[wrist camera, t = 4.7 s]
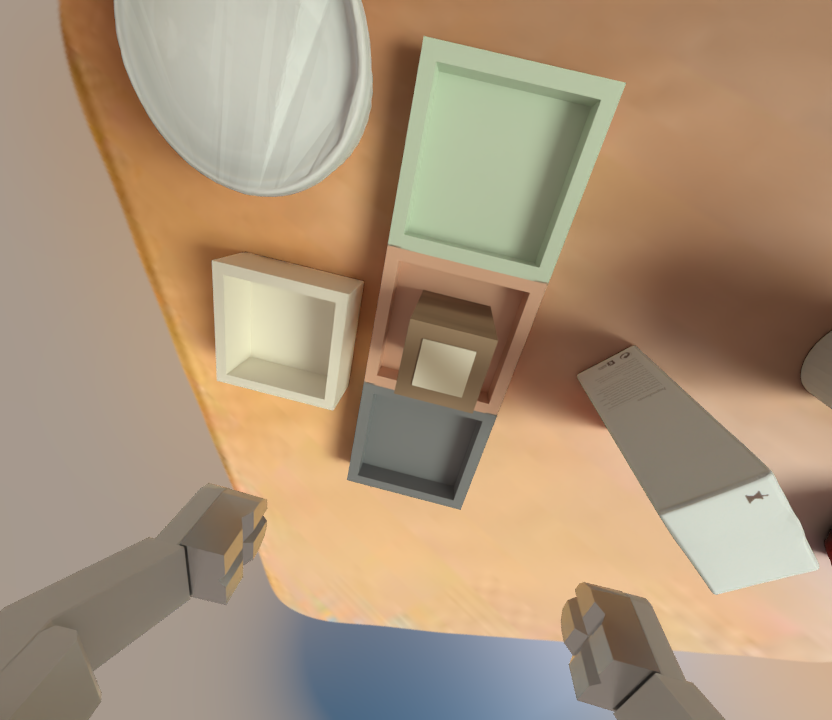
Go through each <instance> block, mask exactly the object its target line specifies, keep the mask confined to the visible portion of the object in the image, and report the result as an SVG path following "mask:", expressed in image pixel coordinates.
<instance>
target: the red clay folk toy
mask: <svg viewBox="0 0 832 720" xmlns="http://www.w3.org/2000/svg"><path fill="white" fill-rule="evenodd" d="M824 544H825V548H826V552H827V554H828V557H829V559H830V561H831V565H832V529H830V533H829V535H828V537H827V538H826V540H825V541H824Z"/></svg>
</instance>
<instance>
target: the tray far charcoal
mask: <svg viewBox="0 0 832 720" xmlns="http://www.w3.org/2000/svg"><path fill="white" fill-rule="evenodd" d="M368 383H369V382H368ZM368 383H366V381H364V385H363V391H362V397H361V402H360V408H359V414H358V420H357V425H356V431H355V437H354V443H353V449H352V454H351V460H350V466H349V472H348V478H347V480H349V481H353V482H357V483H360V484H364V485H368V486H372V487H376V488H380V489H383V490H387V491H391V492H395V493H399V494H402V495H406V496H410V497H414V498H418V499H421V500H425V501H429V502H433V503H437V504H441V505H444V506H448V507H452V508H456V509H460V510H461V507H462V505H463V502H464V499H465V497H466V494H467V492H468V489H469V487H470V484H471V481H472V479H473V476H474V474H475V471H476V468H477V466H478V463H479V461H480V458H481V456H482V453H483V450H484V448H485V445H486V443H487V440H488V438H489V435H490V432H491V430H492V427H493V425H494V422H495V419H496V417H497V415H495V414H491V413H488V414H486V413H487V412H486V413H482V412H478V411H473V414H472V413H468V412H464V411H460V410H456V409H452V408H448V407H445V406H441V405H437V404H433V403H429V402H425V401H421V400H417V399H413V398H409V397H405V396H402V395H398V394H394V391H395V390H392V389H388V388H384V387H380V386H376V385H372V384H371V383H369V384H368Z"/></svg>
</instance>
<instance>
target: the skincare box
mask: <svg viewBox="0 0 832 720" xmlns="http://www.w3.org/2000/svg"><path fill="white" fill-rule="evenodd" d="M577 378H578V380H579V382H580V383H581V385H582V387H583V389H584V390H585V392H586V394H587V395H588V397H589V399H590V400H591V402H592V404H593V405H594V407H595V409H596V410H597V412H598V414H599V415H600V417H601V419H602V421H603V422H604V424H605V426H606V428H607V429H608V431H609V433H610V434H611V436H612V438H613V439H614V441H615V443H616V444H617V446H618V448H619V449H620V451H621V453H622V454H623V456H624V458H625V459H626V461H627V463H628V464H629V466H630V468H631V470H632V471H633V473H634V475H635V476H636V478H637V480H638V481H639V483H640V485H641V486H642V488H643V490H644V491H645V493H646V495H647V496H648V498H649V500H650V501H651V503H652V505H653V506H654V508H655V510H656V511H657V513H658V515H659V516H660V518H661V520H662V521H663V523H664V524H665V526H666V527H667V529H668V531H669V532H670V534H671V535H672V537H673V538H674V540H675V541H676V542H677V544H678V545H679V546H680V548H681V549H682V550H683V552H684V553H685V555H686V556H687V557H688V559H689V560H690V562H691V563H692V564H693V566H694V567H695V569H696V570H697V571H698V573H699V574H700V576H701V577H702V579H703V580H704V582H705V583H706V584H707V586H708V587H709V589H710V590H711V592H712V593H713V594H715V595H718V594H721V593H724V592H729V591H733V590H737V589H741V588H745V587H749V586H753V585H757V584H761V583H765V582H769V581H773V580H777V579H781V578H785V577H790V576H794V575H798V574H802V573H807V572H811V571H815V570H818V569H819V563H818V561H817V559H816V557H815V555H814V553H813V551H812V549H811V547H810V545H809V543H808V541H807V539H806V537H805V533H804V530H803V527H802V525H801V523H800V521H799V519H798V518H797V516H796V515H795V513H794V512H793V510H792V508H791V506H790V504H789V502H788V500H787V498H786V497H785V495H784V493H783V491H782V489H781V487H780V485H779V483H778V481H777V480H776V478H775V476H774V474H773V472H772V471H771V470H770V469H769V468H768V467H767V466H766V465H765V464H764V463H763V462H762V461H761V460H760V459H759V458H757V457H756V456H755V455H754V454H753V453H752V452H751V451H750V450H749V449H748V448H747V447H746V446H745V445H744V444H743V443H742V442H740V441H739V440H738V439H737V438H736V437H735V436H734V435H732V434H731V433H730V432H729V431H728V430H727V429H726V428H725V427H723V426H722V425H721V424H720V423H719V422H718V421H717V420H716V419H715V418H714V417H713V416H712V415H710V414H709V413H708V412H707V411H706V410H705V409H704V408H703V407H702V406H701V405H700V404H699V403H697V402H696V401H695V400H694V399H693V398H692V397H691V396H690V395H689V394H688V393H686V392H685V391H684V390H683V389H682V388H681V387H680V386H679V385H678V384H677V383H676V382H674V381H673V380H672V379H671V378H670V377H669V376H668V375H667V374H666V373H665V372H664V371H663V370H662V369H660V368H659V367H658V366H657V365H656V364H655V363H654V362H653V361H652V360H651V359H650V358H648V357H647V356H646V355H645V354H644V353H643V352H642V351H641V350H640V349H639V348H638V347H636V346H631V347H629V348H627V349H625V350H623V351H621V352H619V353H617V354H615V355H614V356H612V357H610V358H608V359H606V360H604V361H602V362H600V363H599V364H597V365H595V366H593V367H591V368H589V369H587V370H585V371H583V372H581V373H579V374H578V375H577Z"/></svg>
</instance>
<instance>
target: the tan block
mask: <svg viewBox="0 0 832 720" xmlns="http://www.w3.org/2000/svg"><path fill="white" fill-rule="evenodd" d="M497 342H498V338H497V334H496V329H495V324H494V320H493V315H492V311H491V306H487V305H483V304H479V303H475V302H471V301H467V300H463V299H459V298H455V297H451V296H447V295H443V294H438V293H434V292H430V291H426V290H423V292H422V294H421V296H420V298H419V301H418V303H417V305H416V307H415V310H414V312H413V314H412V316H411V319H410V323H409V327H408V331H407V336H406V340H405V345H404V349H403V354H402V358H401V363H400V367H399V373H398V377H397V382H396V386H395V391H394V394H398V395H402V396H405V397H409V398H413V399H417V400H421V401H425V402H429V403H433V404H437V405H441V406H445V407H448V408H452V409H456V410H460V411H464V412H468V413H472V414H473V411H474V408H475V405H476V403H477V400H478V397H479V394H480V391H481V388H482V385H483V382H484V380H485V377H486V374H487V371H488V368H489V365H490V362H491V360H492V357H493V354H494V351H495V348H496V345H497Z"/></svg>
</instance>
